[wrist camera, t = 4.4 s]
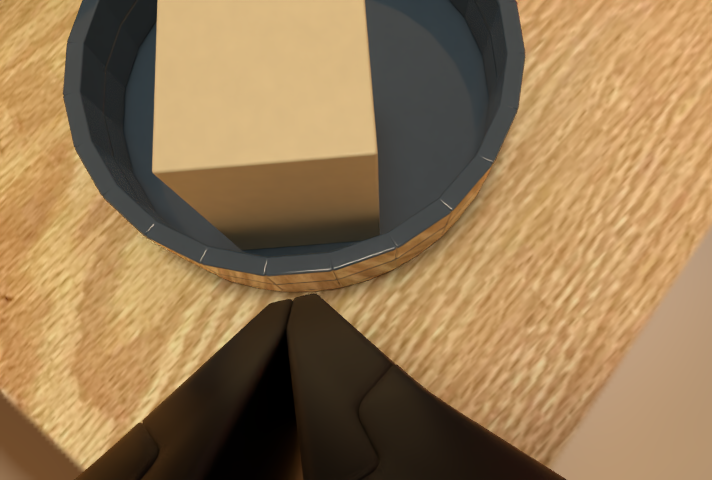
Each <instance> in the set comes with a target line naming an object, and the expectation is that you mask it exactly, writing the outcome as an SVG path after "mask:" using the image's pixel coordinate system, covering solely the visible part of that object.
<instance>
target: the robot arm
mask: <svg viewBox="0 0 712 480" xmlns="http://www.w3.org/2000/svg"><path fill="white" fill-rule="evenodd" d="M74 480H566V479H565V478H563V477H562V476H560V475H558V474H557V473H555V472H554V471H552V470H551V469H549V468H547V467H546V466H544V465H543V464H541V463H539V462H538V461H536V460H535V459H533V458H532V457H530V456H528V455H527V454H525V453H524V452H522V451H520V450H519V449H517V448H516V447H514V446H512V445H511V444H509V443H508V442H506V441H505V440H503V439H501V438H500V437H498V436H497V435H495V434H493V433H492V432H490V431H489V430H487V429H485V428H484V427H482V426H481V425H479V424H478V423H476V422H474V421H473V420H471V419H470V418H468V417H466V416H465V415H463V414H462V413H460V412H458V411H457V410H455V409H454V408H452V407H451V406H449V405H448V404H446V403H445V402H443V401H442V400H441V399H439V398H438V397H436V396H435V395H433V394H432V393H430V392H429V391H428V390H426V389H425V388H424V387H423V386H421V385H420V384H419V383H418V382H416V381H415V380H414V379H413V378H411V377H410V376H409V375H408V374H407V373H406V372H405V371H404V370H402V369H401V368H400V367H399V366H398V365H395V363H394V362H392V361H391V360H390V359H389V358H388V357H387V356H386V355H385V354H384V353H382V352H381V351H380V350H379V349H378V348H377V347H376V346H375V345H373V344H372V343H371V342H370V341H369V340H368V339H367V338H366V337H364V336H363V335H362V334H361V333H360V332H359V331H358V330H357V329H356V328H354V327H353V326H352V325H351V324H350V323H349V322H348V321H347V320H345V319H344V318H343V317H342V316H341V315H340V314H339V313H338V312H336V311H335V310H334V309H333V308H332V307H331V306H330V305H329V304H327V303H326V302H325V301H324V300H323V299H322V298H321V297H320V296H319V295H317V294H309V295H305V296H300V297H296V298H295V299H294V300H293V301H292V300H290V299H287V300H283V301H278V302H274V303H271V304H269V305H268V306H266V307H265V308H264V309H263V310H262V311H261V312H260V313H259V314H258V315H257V316H256V317H255V318H253V319H252V320H251V321H250V322H249V323H248V324H247V325H246V326H245V327H244V328H243V329H241V330H240V331H239V332H238V333H237V334H236V335H235V336H234V337H233V338H232V339H231V340H229V341H228V342H227V343H226V344H225V345H224V346H223V347H222V348H221V349H220V350H219V351H218V352H216V353H215V354H214V355H213V356H212V357H211V358H210V359H209V360H208V361H207V362H206V363H204V364H203V365H202V366H201V367H200V368H199V369H198V370H197V371H196V372H195V373H194V374H192V375H191V376H190V377H189V378H188V379H187V380H186V381H185V382H184V383H183V384H182V385H181V386H179V387H178V388H177V389H176V390H175V391H174V392H173V393H172V394H171V395H170V396H169V397H167V398H166V399H165V400H164V401H163V402H162V403H161V404H160V405H159V406H158V407H157V408H155V409H154V410H153V411H152V412H151V413H150V414H149V415H148V416H147V417H146V418H145V419H144V420H143V424H142V423H138V424H137V425H136V426H135V427H133V428H132V429H131V430H130V431H129V432H128V433H127V434H126V435H125V436H124V437H123V438H122V439H121V440H119V441H118V442H117V443H116V444H115V445H114V446H113V447H112V448H110V449H109V450H108V451H107V452H106V453H105V454H104V455H102V456H101V457H100V458H99V459H98V460H97V461H96V462H95V463H93V464H92V465H91V466H90V467H89V468H88V469H86V470H85V471H84V472H83V473H82V474H80V475H79V476H78V477H77V478H76V479H74Z"/></svg>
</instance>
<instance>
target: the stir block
mask: <svg viewBox="0 0 712 480" xmlns="http://www.w3.org/2000/svg"><path fill="white" fill-rule="evenodd" d="M152 172H153V174H154V175H156V176H157V177H158V178H159V179H160V180H161V181H162V182H164V183H165V184H166V185H167V186H168V187H169V188H171V189H172V190H173V191H174V192H175V193H176V194H177V195H179V196H180V197H181V198H182V199H183V200H184V201H186V202H187V203H188V204H189V205H190V206H191V207H192V208H194V209H195V210H196V211H197V212H198V213H199V214H201V215H202V216H203V217H204V218H205V219H206V220H207V221H209V222H210V223H211V224H212V225H213V226H214V227H216V228H217V229H218V230H219V231H220V232H221V233H222V234H224V235H225V236H226V237H227V238H228V239H229V240H231V241H232V242H233V243H234V244H235V245H236V246H237V247H239V248H240V249H241V250H250V249H262V248H275V247H288V246H300V245H313V244H326V243H338V242H351V241H363V240H366V239H369V238H371V237H374V236H377V235H380V217H379V180H378V149H377V138H376V126H375V114H374V102H373V91H372V79H371V67H370V55H369V43H368V32H367V20H366V8H365V0H157V30H156V61H155V93H154V125H153V156H152Z"/></svg>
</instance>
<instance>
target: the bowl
mask: <svg viewBox="0 0 712 480" xmlns="http://www.w3.org/2000/svg"><path fill="white" fill-rule="evenodd" d="M365 8H366V20H367V32H368V43H369V55H370V67H371V79H372V91H373V102H374V114H375V126H376V138H377V149H378V180H379V217H380V235H377V236H374V237H371V238H369V239H366V240H363V241H351V242H338V243H326V244H313V245H300V246H288V247H275V248H262V249H250V250H241V249H240V248H239V247H237V246H236V245H235V244H234V243H233V242H232V241H231V240H229V239H228V238H227V237H226V236H225V235H224V234H222V233H221V232H220V231H219V230H218V229H217V228H216V227H214V226H213V225H212V224H211V223H210V222H209V221H207V220H206V219H205V218H204V217H203V216H202V215H201V214H199V213H198V212H197V211H196V210H195V209H194V208H192V207H191V206H190V205H189V204H188V203H187V202H186V201H184V200H183V199H182V198H181V197H180V196H179V195H177V194H176V193H175V192H174V191H173V190H172V189H171V188H169V187H168V186H167V185H166V184H165V183H164V182H162V181H161V180H160V179H159V178H158V177H157V176H156V175H154V174H153V172H152V156H153V125H154V93H155V61H156V30H157V0H83V1H82V3H81V6H80V9H79V11H78V14H77V17H76V19H75V22H74V25H73V28H72V30H71V33H70V36H69V38H68V41H67V42H68V43H67V50H66V62H65V75H64V87H63V95H64V96H63V98H64V102H65V107H66V112H67V116H68V121H69V125H70V130H71V135H72V139H73V144H74V147H75V150H76V152H77V154H78V155H79V157H80V159H81V161H82V162H83V164H84V166H85V168H86V169H87V171H88V173H89V175H90V176H91V178H92V180H93V182H94V183H95V185H96V187H97V189H98V190H99V192H100V194H101V195H102V196H103V198H104V199H105V200H106V201H107V202H108V203H109V204H110V205H111V206H113V207H114V208H115V209H116V210H117V211H118V212H119V213H120V214H121V215H122V216H123V217H124V218H125V219H126V220H128V221H129V222H130V223H131V224H132V225H133V226H134V227H135V228H136V229H137V230H138V231H139V232H140V233H141V234H143V235H144V236H145V237H147V238H148V239H150V240H152V241H153V242H155V243H157V244H159V245H160V246H162V247H164V248H166V249H167V250H169V251H171V252H173V253H174V254H176V255H178V256H180V257H181V258H183V259H185V260H187V261H189V262H191V263H193V264H195V265H197V266H199V267H201V268H203V269H205V270H207V271H209V272H211V273H213V274H215V275H217V276H219V277H221V278H223V279H225V280H229V281H231V282H236V283H240V284H244V285H248V286H251V287H255V288H259V289H267V290H275V291H284V292H314V291H321V290H329V289H336V288H342V287H346V286H349V285H353V284H357V283H360V282H364V281H367V280H370V279H372V278H375V277H377V276H380V275H382V274H384V273H387V272H389V271H391V270H394V269H396V268H397V267H399V266H401V265H402V264H404V263H406V262H407V261H409V260H411V259H413V258H414V257H416V256H418V255H419V254H420V253H422V252H423V251H424V250H425V249H427V248H428V247H429V246H431V245H432V244H433V243H434V242H436V241H437V240H438V239H439V238H440V237H441V236H442V235H444V234H445V232H446V231H447V230H448V229H449V228H450V227H451V226H452V225H453V224H454V223H455V222H456V221H457V220H458V219H459V217H460V216H461V215H462V213H463V212H464V211H465V209H466V208H467V207H468V205H469V204H470V203H471V202H472V201H473V200H474V198H475V197H476V196H477V194H478V193H479V191H480V189H481V187H482V185H483V183H484V181H485V179H486V177H487V175H488V173H489V172H490V170H491V168H492V166H493V164H494V162H495V160H496V158H497V155H498V153H499V151H500V149H501V147H502V144H503V142H504V140H505V138H506V136H507V133H508V131H509V129H510V127H511V125H512V123H513V120H514V118H515V116H516V114H517V110H518V108H519V100H520V93H521V85H522V78H523V70H524V63H525V48H524V42H523V36H522V30H521V25H520V19H519V13H518V7H517V2H516V0H365Z"/></svg>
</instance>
